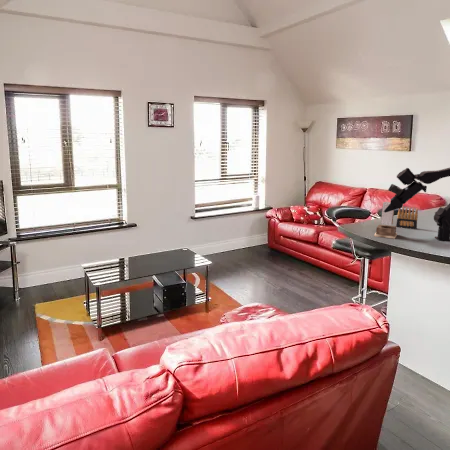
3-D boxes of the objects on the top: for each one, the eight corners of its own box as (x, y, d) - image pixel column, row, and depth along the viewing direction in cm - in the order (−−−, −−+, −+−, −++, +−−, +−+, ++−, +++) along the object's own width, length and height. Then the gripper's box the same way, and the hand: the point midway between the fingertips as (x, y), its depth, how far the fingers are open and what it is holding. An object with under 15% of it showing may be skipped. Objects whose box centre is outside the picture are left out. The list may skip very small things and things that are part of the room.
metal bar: (392, 223, 223) (394, 202, 220) (391, 225, 219) (393, 203, 216) (382, 222, 225) (384, 201, 223) (381, 224, 221) (383, 203, 218)
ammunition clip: (396, 227, 244) (398, 206, 241) (396, 226, 245) (398, 205, 243) (416, 229, 239) (418, 207, 236) (416, 228, 241) (418, 207, 238)
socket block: (397, 234, 225) (398, 226, 224) (394, 238, 217) (395, 230, 216) (377, 232, 230) (378, 224, 229) (374, 236, 221) (374, 227, 220)
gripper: (401, 177, 223) (377, 196, 230) (397, 180, 207) (371, 201, 214) (416, 193, 221) (391, 212, 229) (413, 198, 205) (386, 218, 212)
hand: (385, 210), depth 221 cm, fingers closed on metal bar, 5 cm apart
